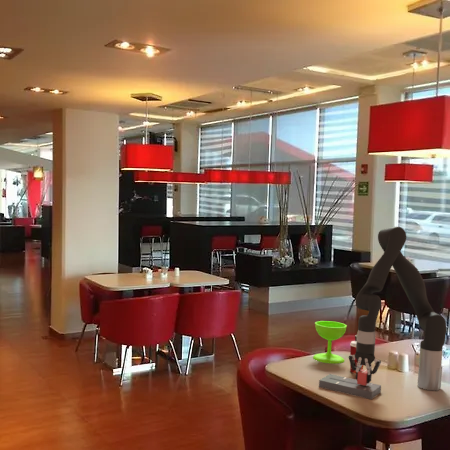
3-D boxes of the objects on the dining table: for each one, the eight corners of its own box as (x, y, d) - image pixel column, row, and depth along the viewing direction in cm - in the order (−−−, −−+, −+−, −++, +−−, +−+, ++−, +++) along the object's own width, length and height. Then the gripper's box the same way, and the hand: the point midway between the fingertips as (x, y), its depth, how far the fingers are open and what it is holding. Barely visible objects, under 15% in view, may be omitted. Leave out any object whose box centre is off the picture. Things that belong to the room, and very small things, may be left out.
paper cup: (360, 375, 259) (362, 345, 259) (345, 371, 264) (347, 342, 263) (367, 372, 265) (369, 343, 265) (352, 368, 270) (354, 339, 269)
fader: (369, 384, 235) (370, 370, 235) (365, 387, 231) (366, 373, 231) (361, 382, 237) (361, 369, 237) (357, 385, 233) (357, 371, 233)
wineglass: (342, 365, 275) (344, 329, 274) (310, 360, 280) (312, 325, 279) (346, 357, 290) (348, 323, 289) (315, 353, 295) (317, 319, 294)
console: (380, 392, 236) (381, 385, 236) (371, 399, 226) (372, 392, 226) (329, 380, 248) (330, 373, 248) (318, 387, 238) (319, 379, 238)
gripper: (385, 342, 233) (382, 383, 233) (352, 336, 240) (350, 376, 241) (379, 345, 226) (377, 387, 227) (346, 339, 234) (343, 380, 235)
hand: (363, 381), depth 234 cm, fingers closed on fader, 3 cm apart
